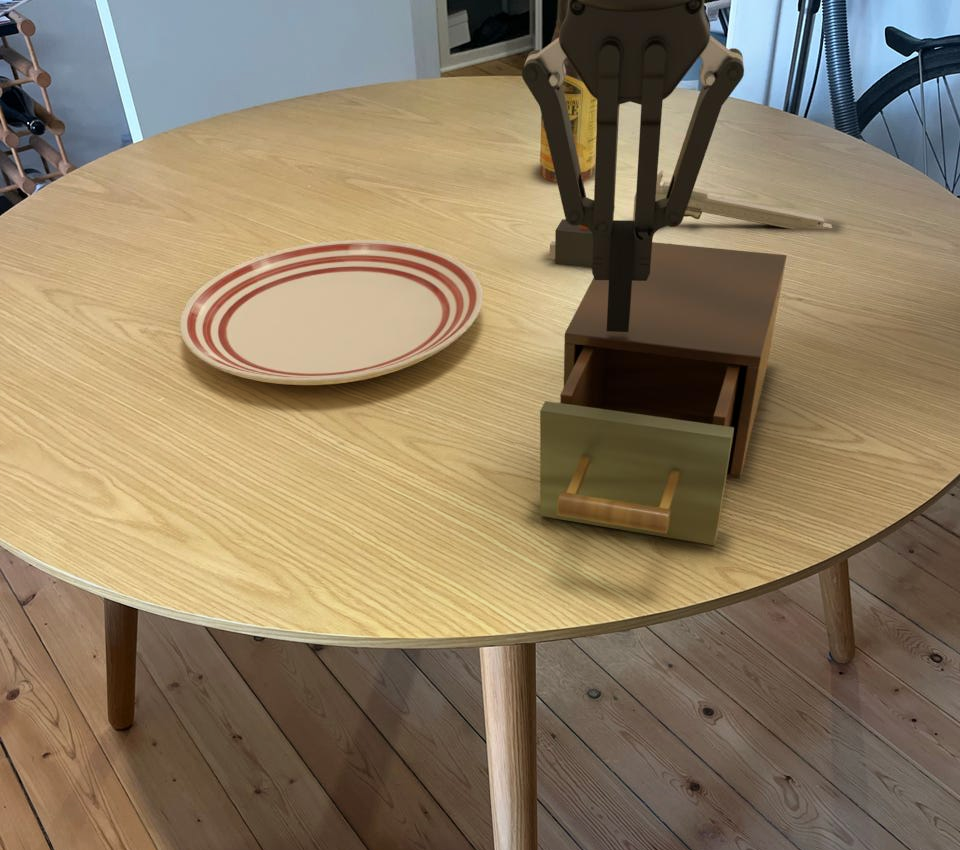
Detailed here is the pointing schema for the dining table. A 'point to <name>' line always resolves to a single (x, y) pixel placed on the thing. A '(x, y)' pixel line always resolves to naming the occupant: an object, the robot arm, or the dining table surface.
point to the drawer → (640, 443)
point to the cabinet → (694, 318)
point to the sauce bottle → (573, 115)
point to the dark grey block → (572, 245)
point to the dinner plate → (331, 312)
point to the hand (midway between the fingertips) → (618, 321)
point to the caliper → (741, 210)
